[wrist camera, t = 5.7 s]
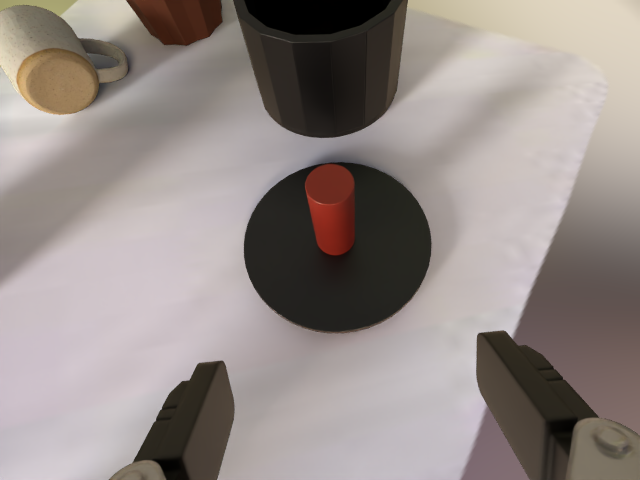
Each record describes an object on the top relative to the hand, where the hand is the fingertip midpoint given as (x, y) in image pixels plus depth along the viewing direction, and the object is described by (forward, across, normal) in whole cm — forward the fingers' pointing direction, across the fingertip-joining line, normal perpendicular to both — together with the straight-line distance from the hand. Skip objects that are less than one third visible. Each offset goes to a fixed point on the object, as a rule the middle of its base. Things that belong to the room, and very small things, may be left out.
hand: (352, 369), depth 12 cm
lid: (+18, 0, -2) cm, 19 cm away
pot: (+32, +1, +10) cm, 33 cm away
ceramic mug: (+35, -25, +13) cm, 45 cm away
